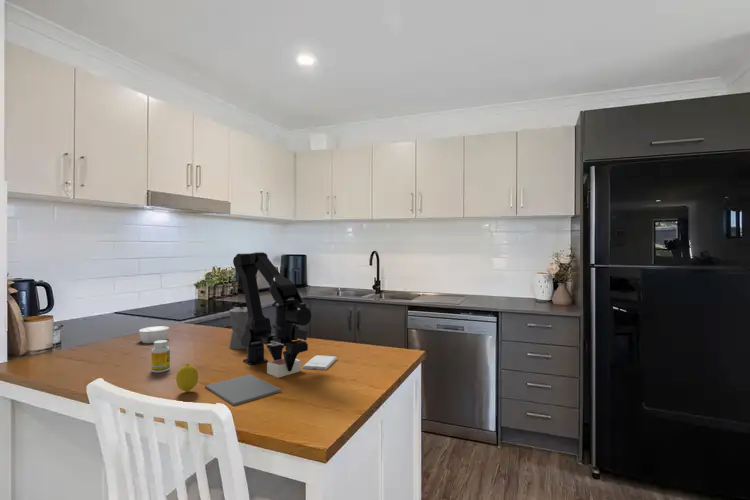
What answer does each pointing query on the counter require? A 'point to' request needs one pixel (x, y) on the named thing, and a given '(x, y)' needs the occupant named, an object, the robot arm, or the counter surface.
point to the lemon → (187, 377)
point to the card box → (282, 367)
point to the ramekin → (153, 334)
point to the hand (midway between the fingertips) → (284, 368)
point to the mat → (242, 389)
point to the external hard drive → (320, 362)
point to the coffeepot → (238, 325)
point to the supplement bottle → (160, 356)
